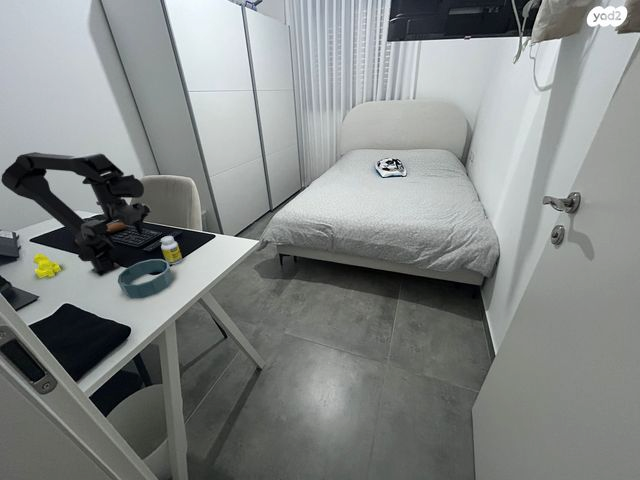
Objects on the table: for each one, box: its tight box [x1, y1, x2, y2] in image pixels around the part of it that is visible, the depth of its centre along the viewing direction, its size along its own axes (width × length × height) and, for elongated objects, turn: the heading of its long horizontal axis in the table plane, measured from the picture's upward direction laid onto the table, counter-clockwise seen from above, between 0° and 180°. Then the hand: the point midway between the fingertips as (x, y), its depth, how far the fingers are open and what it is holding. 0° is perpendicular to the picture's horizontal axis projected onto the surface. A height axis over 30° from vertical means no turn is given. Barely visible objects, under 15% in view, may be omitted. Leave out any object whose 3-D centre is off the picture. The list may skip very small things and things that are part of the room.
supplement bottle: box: [160, 235, 183, 266], centre depth 95 cm, size 5×5×10 cm
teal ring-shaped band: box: [117, 258, 175, 299], centre depth 85 cm, size 14×14×5 cm
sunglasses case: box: [74, 221, 128, 244], centre depth 115 cm, size 18×7×7 cm
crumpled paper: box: [33, 252, 62, 279], centre depth 91 cm, size 6×8×8 cm
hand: (128, 241), depth 87 cm, fingers open, 9 cm apart
